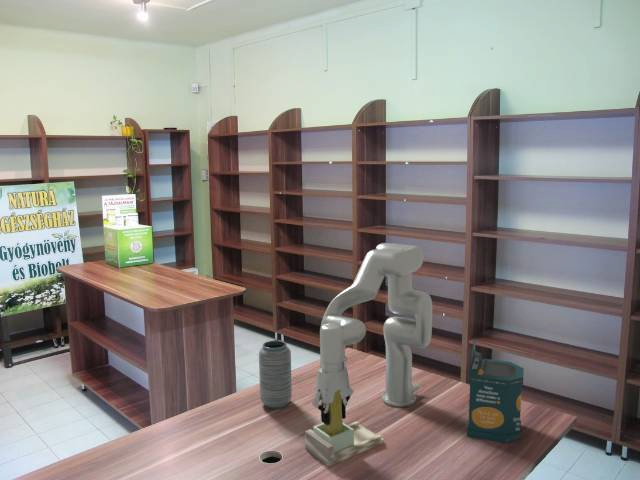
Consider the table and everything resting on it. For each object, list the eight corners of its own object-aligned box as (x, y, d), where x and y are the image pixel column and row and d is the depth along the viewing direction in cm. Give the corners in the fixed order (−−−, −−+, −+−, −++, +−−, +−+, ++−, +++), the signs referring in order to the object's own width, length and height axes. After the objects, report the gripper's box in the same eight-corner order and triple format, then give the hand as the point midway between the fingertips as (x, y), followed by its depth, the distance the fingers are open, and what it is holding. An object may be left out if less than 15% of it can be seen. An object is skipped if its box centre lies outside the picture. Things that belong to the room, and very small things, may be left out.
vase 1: (294, 408, 195) (293, 348, 191) (262, 413, 192) (260, 351, 189) (288, 395, 206) (287, 337, 203) (258, 398, 203) (256, 340, 200)
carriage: (336, 435, 173) (335, 418, 172) (354, 447, 166) (353, 429, 165) (313, 444, 168) (312, 426, 167) (330, 457, 161) (330, 438, 160)
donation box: (472, 414, 190) (474, 337, 185) (520, 421, 184) (524, 343, 179) (467, 436, 175) (469, 354, 170) (520, 445, 169) (524, 360, 164)
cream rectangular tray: (359, 427, 181) (359, 410, 180) (383, 442, 172) (383, 424, 171) (305, 449, 169) (305, 431, 168) (328, 466, 159) (328, 447, 158)
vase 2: (341, 437, 163) (341, 392, 161) (321, 435, 164) (321, 391, 162) (344, 427, 169) (344, 384, 167) (325, 425, 170) (325, 382, 168)
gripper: (347, 354, 171) (347, 407, 174) (302, 367, 161) (303, 423, 164) (362, 361, 165) (362, 416, 168) (317, 375, 155) (318, 434, 158)
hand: (333, 419), depth 166 cm, fingers closed on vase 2, 5 cm apart
